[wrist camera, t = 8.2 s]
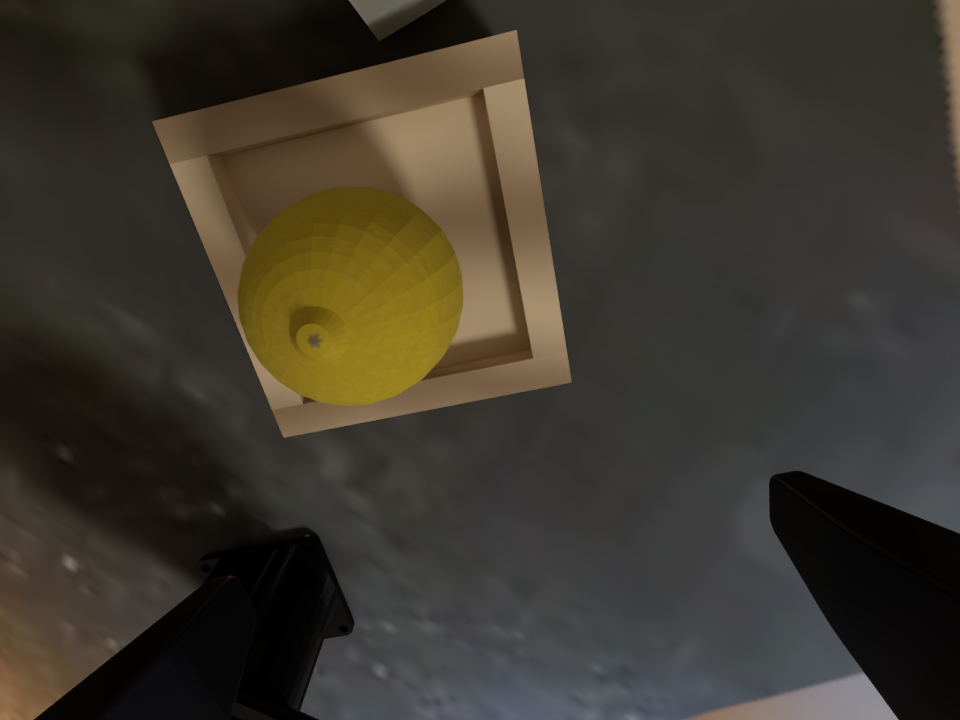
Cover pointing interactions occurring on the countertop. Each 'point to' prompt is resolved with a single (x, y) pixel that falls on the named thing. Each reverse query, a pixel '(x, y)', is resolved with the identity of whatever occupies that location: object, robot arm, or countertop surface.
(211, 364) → the countertop surface
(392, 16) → the ceramic cube
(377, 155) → the square tray
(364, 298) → the lemon
